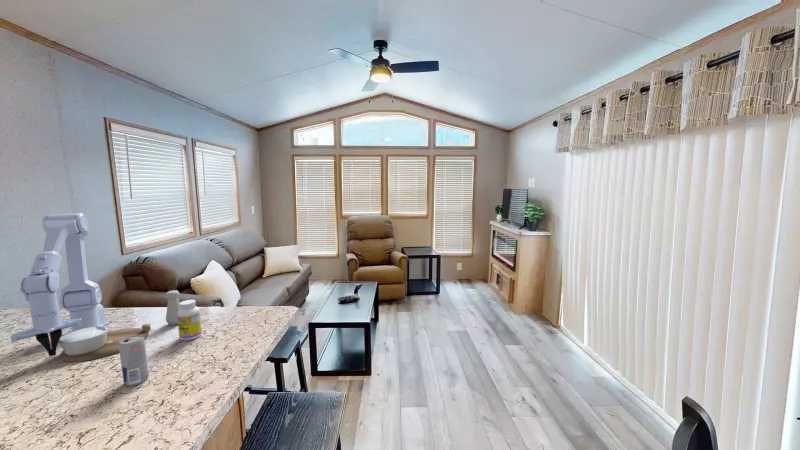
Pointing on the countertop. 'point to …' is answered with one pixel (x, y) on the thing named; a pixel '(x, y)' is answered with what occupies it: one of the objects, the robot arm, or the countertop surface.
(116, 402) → the countertop surface
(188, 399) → the countertop surface
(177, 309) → the salt shaker
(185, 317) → the supplement bottle
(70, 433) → the countertop surface
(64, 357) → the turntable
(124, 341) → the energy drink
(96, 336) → the ramekin
